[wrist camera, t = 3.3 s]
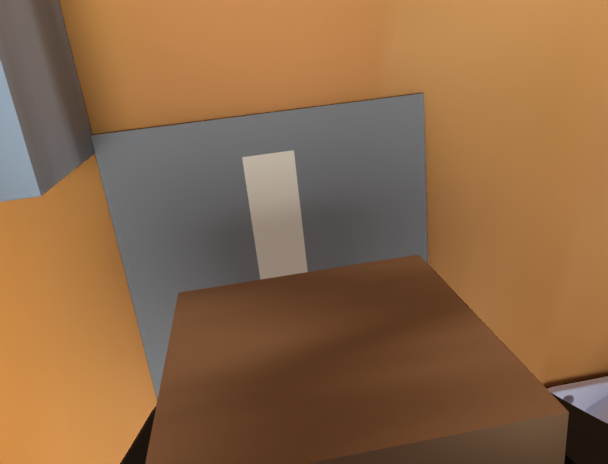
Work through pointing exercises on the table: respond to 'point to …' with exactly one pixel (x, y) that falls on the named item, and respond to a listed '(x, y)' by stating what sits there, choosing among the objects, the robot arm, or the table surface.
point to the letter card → (261, 199)
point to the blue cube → (38, 100)
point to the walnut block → (347, 376)
